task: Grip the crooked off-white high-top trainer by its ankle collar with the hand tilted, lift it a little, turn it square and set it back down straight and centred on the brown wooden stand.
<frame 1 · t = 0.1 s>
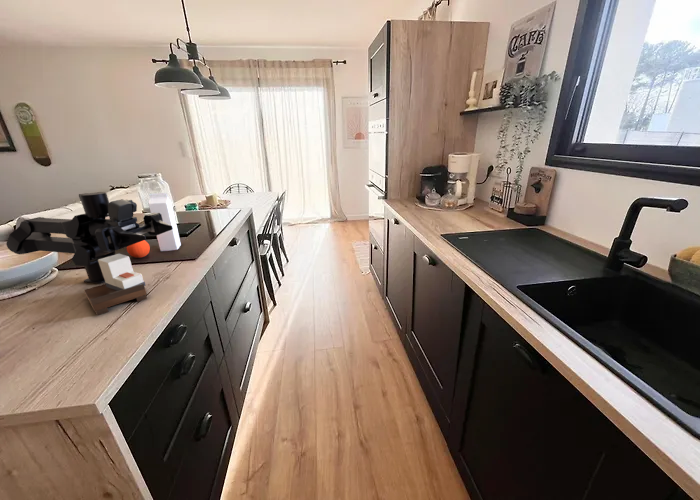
hand: (159, 232, 79), 17 cm above the counter, tool horizontal, fingers open, 9 cm apart
clementine: (141, 257, 107), on the counter
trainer: (122, 284, 79), point 3 cm above the counter, touching brown wooden stand
milk: (171, 248, 115), on the counter
brown wooden stand: (117, 299, 78), on the counter
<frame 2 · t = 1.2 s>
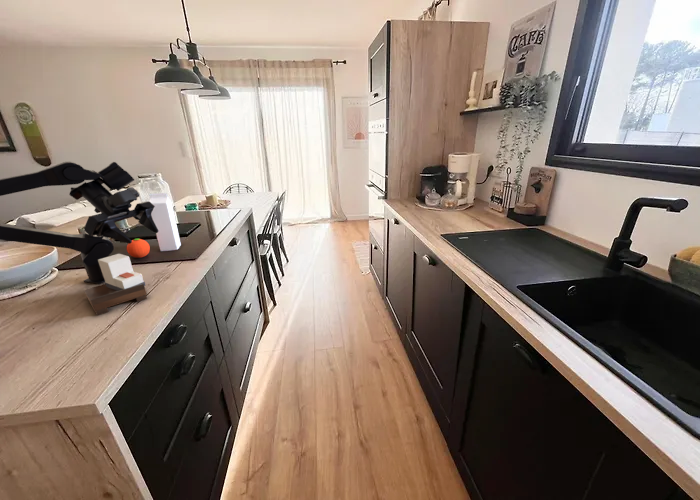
hand: (144, 237, 86), 13 cm above the counter, tool tilted 45°, fingers open, 9 cm apart
nothing on the counter moved.
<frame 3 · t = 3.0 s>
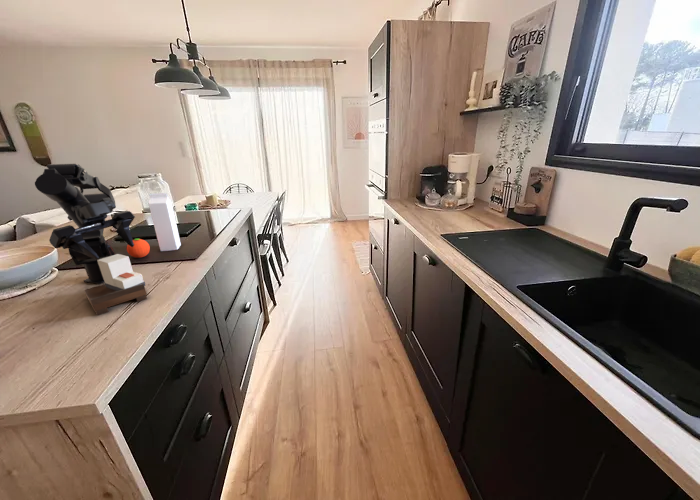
hand: (116, 252, 80), 11 cm above the counter, tool tilted 40°, fingers open, 9 cm apart
nothing on the counter moved.
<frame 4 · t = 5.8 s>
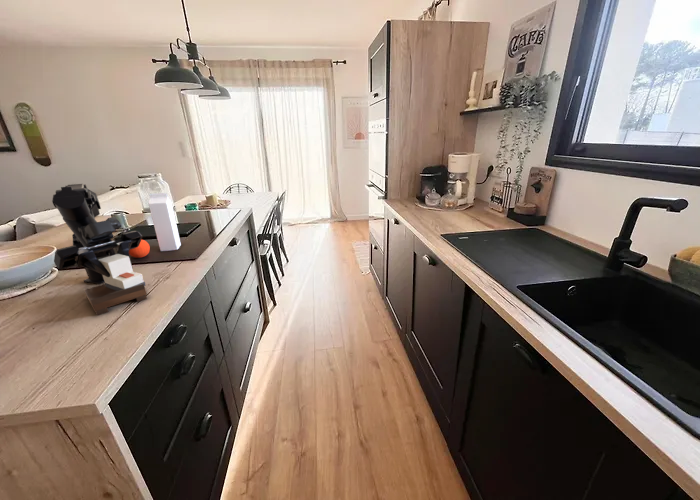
hand: (120, 272, 77), 7 cm above the counter, tool tilted 45°, fingers closed on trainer, 5 cm apart
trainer: (121, 284, 79), point 3 cm above the counter, touching gripper, brown wooden stand
everything else where it was.
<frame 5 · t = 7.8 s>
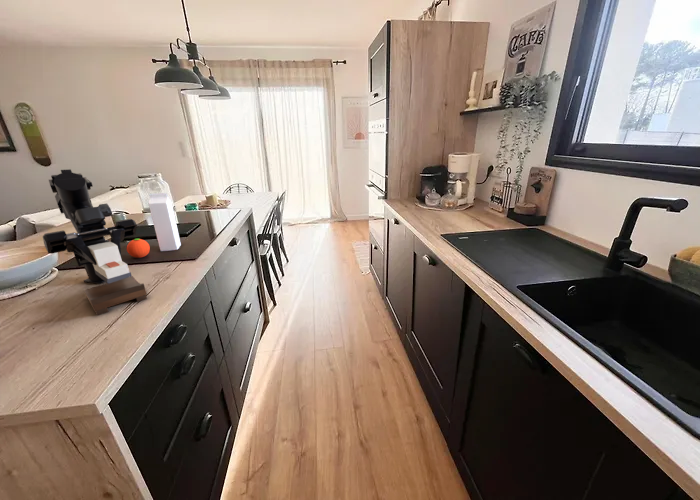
hand: (108, 260, 75), 11 cm above the counter, tool tilted 45°, fingers closed on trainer, 5 cm apart
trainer: (111, 273, 78), point 7 cm above the counter, touching gripper
everything else where it was.
when the fingers open (7 cm above the counter, at t = 10.0 s): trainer stays where it is, resting on brown wooden stand.
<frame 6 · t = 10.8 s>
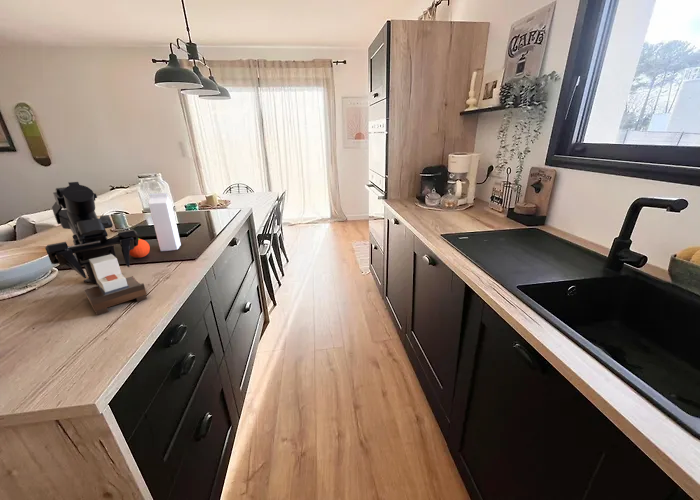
hand: (107, 271, 76), 8 cm above the counter, tool tilted 45°, fingers open, 9 cm apart
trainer: (111, 285, 79), point 3 cm above the counter, touching brown wooden stand
everything else where it was.
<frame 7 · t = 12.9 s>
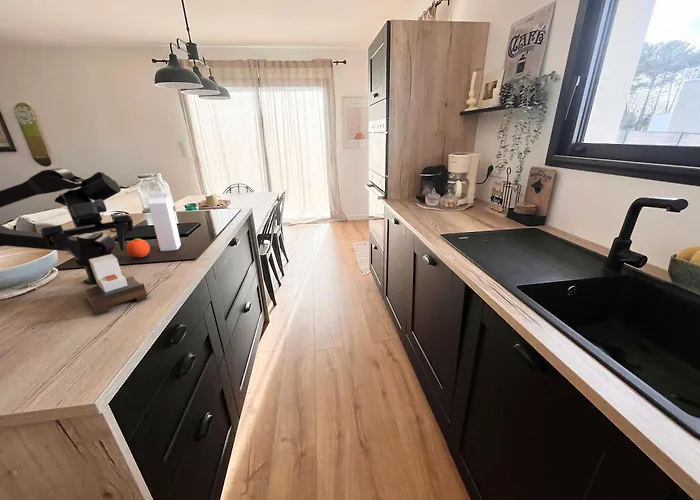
hand: (102, 254, 78), 11 cm above the counter, tool tilted 45°, fingers open, 9 cm apart
nothing on the counter moved.
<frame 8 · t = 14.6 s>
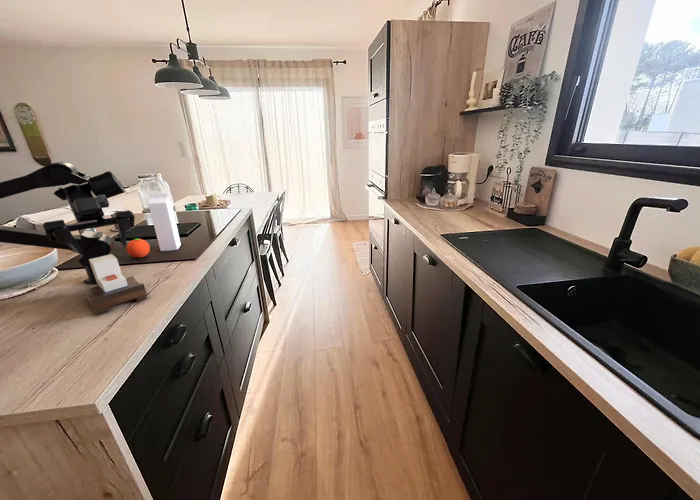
hand: (104, 250, 78), 13 cm above the counter, tool tilted 45°, fingers open, 9 cm apart
nothing on the counter moved.
at the end: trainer 0.1 cm from the target spot on the brown wooden stand, point 3.0 cm above the brown wooden stand's base; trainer tilted 0°; the gripper is holding nothing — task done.
